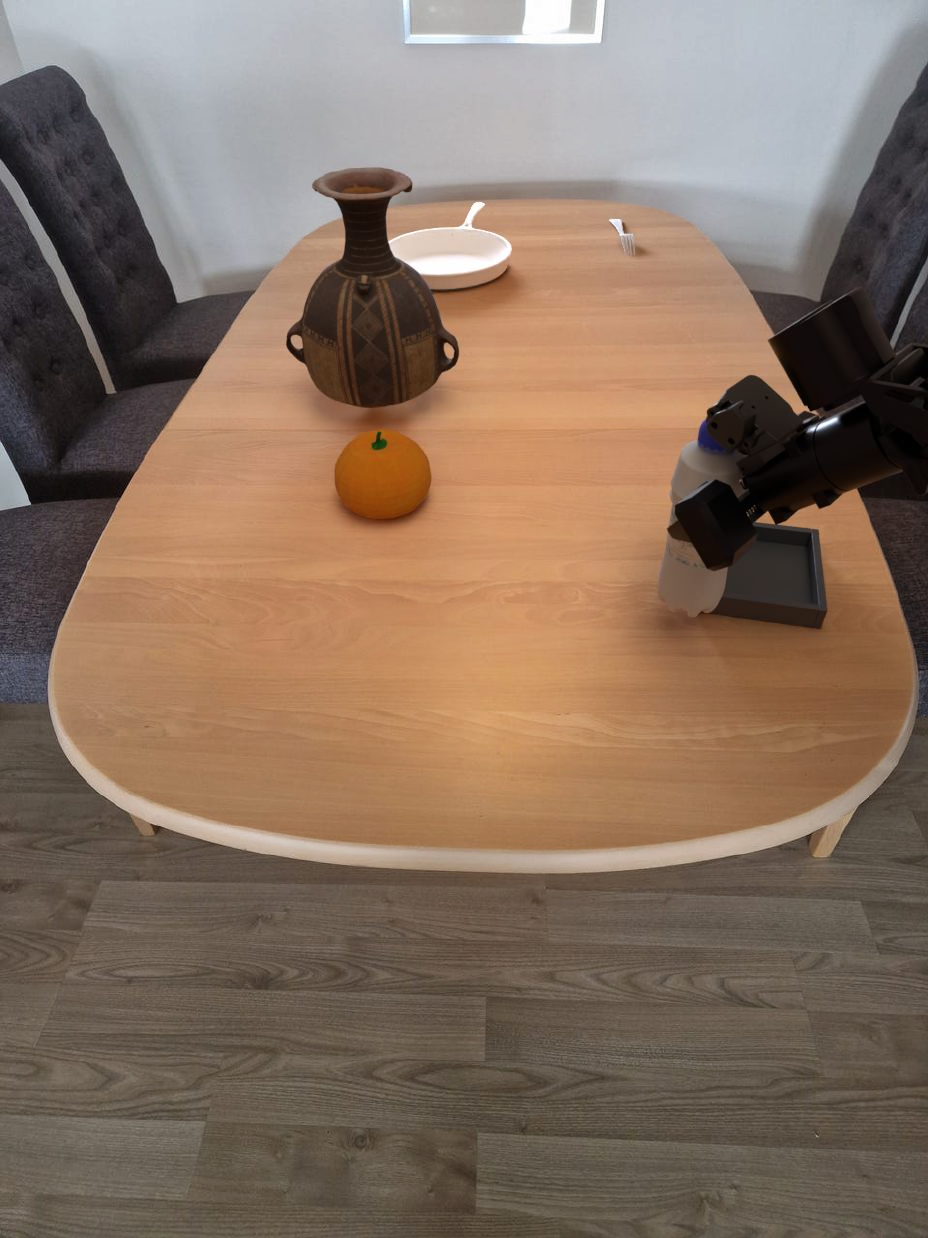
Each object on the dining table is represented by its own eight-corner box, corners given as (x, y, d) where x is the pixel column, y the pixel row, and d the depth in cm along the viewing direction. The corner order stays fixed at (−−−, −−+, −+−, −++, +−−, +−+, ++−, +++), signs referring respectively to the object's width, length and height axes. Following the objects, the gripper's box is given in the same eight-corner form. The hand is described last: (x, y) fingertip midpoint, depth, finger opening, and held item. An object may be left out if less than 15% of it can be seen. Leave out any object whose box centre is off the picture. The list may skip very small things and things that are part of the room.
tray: (812, 546, 91) (818, 529, 89) (821, 629, 82) (827, 611, 80) (698, 533, 94) (702, 515, 92) (693, 611, 84) (697, 593, 82)
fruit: (447, 484, 102) (443, 413, 96) (411, 538, 95) (404, 465, 88) (363, 468, 106) (353, 399, 99) (322, 520, 98) (308, 449, 91)
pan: (362, 289, 149) (359, 263, 146) (425, 221, 175) (424, 198, 172) (493, 299, 144) (493, 273, 140) (538, 228, 170) (538, 205, 167)
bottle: (639, 601, 80) (664, 420, 67) (680, 570, 83) (712, 392, 70) (695, 634, 76) (734, 450, 63) (736, 601, 80) (782, 419, 66)
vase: (279, 421, 115) (230, 193, 94) (348, 363, 128) (319, 150, 107) (422, 454, 108) (403, 214, 87) (481, 389, 120) (477, 165, 99)
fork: (619, 231, 174) (620, 217, 172) (637, 255, 157) (638, 240, 155) (606, 232, 174) (607, 218, 172) (622, 255, 157) (624, 240, 155)
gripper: (845, 320, 64) (703, 402, 78) (718, 408, 55) (581, 484, 69) (910, 440, 66) (759, 501, 79) (797, 546, 56) (647, 595, 70)
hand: (690, 516), depth 74 cm, fingers closed on bottle, 6 cm apart
